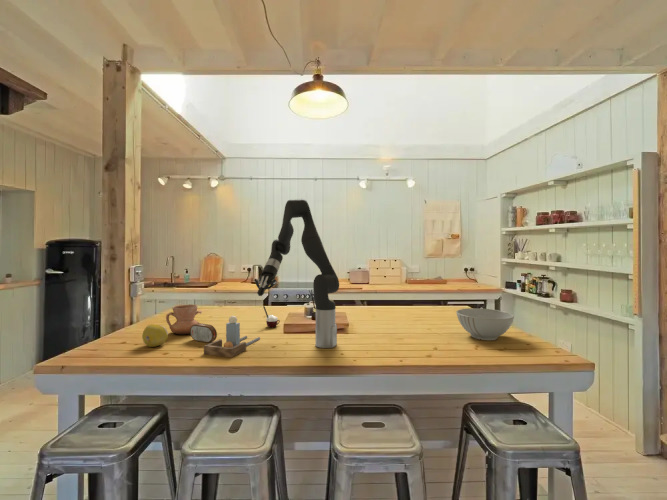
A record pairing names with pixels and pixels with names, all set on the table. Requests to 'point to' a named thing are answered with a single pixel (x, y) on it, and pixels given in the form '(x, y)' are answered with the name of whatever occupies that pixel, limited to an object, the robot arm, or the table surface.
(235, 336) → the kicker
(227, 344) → the ball
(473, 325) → the decorative bowl
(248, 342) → the lane
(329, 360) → the table surface
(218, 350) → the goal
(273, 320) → the cocoa
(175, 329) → the ceramic jug
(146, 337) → the fruit
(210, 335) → the tin
